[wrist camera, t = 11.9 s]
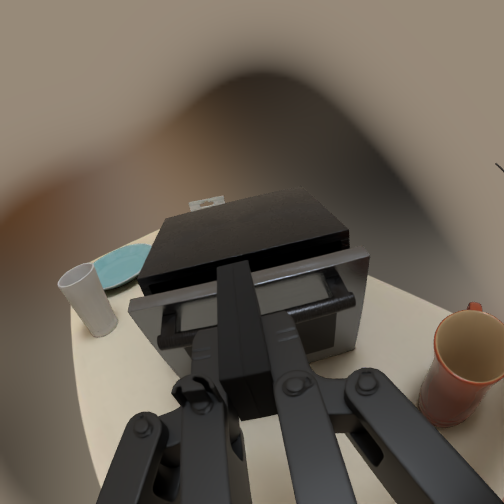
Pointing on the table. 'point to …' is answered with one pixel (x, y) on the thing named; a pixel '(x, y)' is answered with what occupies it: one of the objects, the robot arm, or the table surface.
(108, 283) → the plate
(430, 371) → the mug
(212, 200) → the ink box
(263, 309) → the door
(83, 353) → the table surface
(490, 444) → the table surface
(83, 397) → the table surface
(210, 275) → the box
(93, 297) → the cup
